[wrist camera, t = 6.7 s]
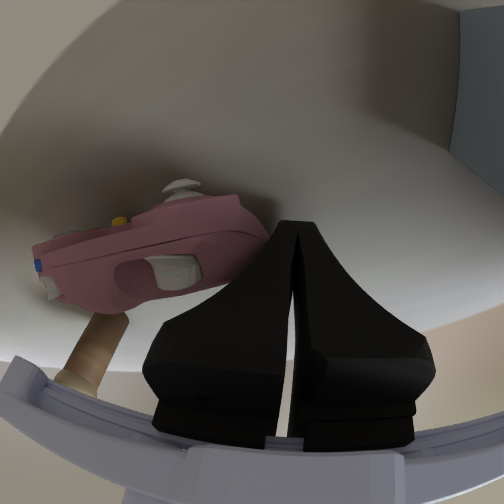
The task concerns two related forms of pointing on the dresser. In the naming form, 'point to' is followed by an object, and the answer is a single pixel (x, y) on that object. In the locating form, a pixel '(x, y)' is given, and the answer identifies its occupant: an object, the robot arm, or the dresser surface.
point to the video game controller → (152, 252)
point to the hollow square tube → (481, 95)
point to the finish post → (93, 353)
